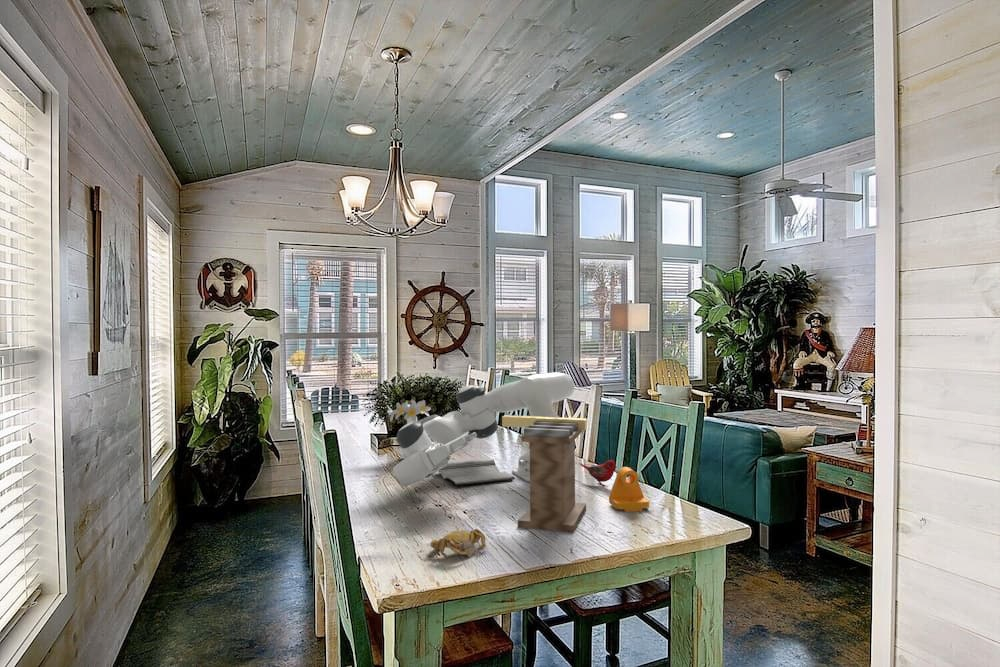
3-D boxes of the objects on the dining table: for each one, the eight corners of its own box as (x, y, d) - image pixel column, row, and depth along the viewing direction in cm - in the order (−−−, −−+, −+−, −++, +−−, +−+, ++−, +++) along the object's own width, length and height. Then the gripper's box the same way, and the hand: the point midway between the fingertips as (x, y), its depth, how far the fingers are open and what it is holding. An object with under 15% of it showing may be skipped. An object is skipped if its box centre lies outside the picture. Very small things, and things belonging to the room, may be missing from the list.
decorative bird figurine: (614, 490, 210) (614, 462, 210) (576, 480, 224) (576, 453, 223) (619, 489, 212) (619, 460, 212) (582, 479, 226) (581, 452, 225)
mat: (455, 490, 215) (455, 476, 214) (435, 474, 236) (435, 462, 236) (515, 482, 224) (515, 469, 224) (490, 468, 245) (490, 456, 245)
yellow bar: (502, 426, 190) (502, 416, 190) (505, 424, 193) (504, 415, 193) (585, 430, 183) (585, 420, 183) (587, 428, 185) (587, 418, 185)
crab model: (458, 538, 167) (457, 518, 167) (494, 548, 159) (494, 527, 159) (417, 555, 155) (416, 533, 155) (454, 567, 147) (454, 544, 147)
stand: (517, 527, 175) (517, 429, 174) (536, 505, 195) (535, 417, 194) (573, 532, 170) (572, 432, 169) (586, 509, 190) (585, 419, 189)
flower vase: (386, 457, 264) (385, 399, 264) (429, 454, 269) (428, 397, 268) (388, 464, 252) (388, 403, 251) (433, 461, 256) (432, 401, 256)
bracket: (616, 512, 188) (616, 473, 187) (609, 505, 195) (608, 467, 194) (650, 510, 189) (650, 471, 189) (641, 503, 196) (641, 466, 196)
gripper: (452, 457, 209) (485, 439, 205) (427, 472, 189) (463, 452, 185) (444, 441, 209) (476, 422, 206) (418, 454, 190) (454, 434, 186)
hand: (470, 437), depth 195 cm, fingers open, 8 cm apart
